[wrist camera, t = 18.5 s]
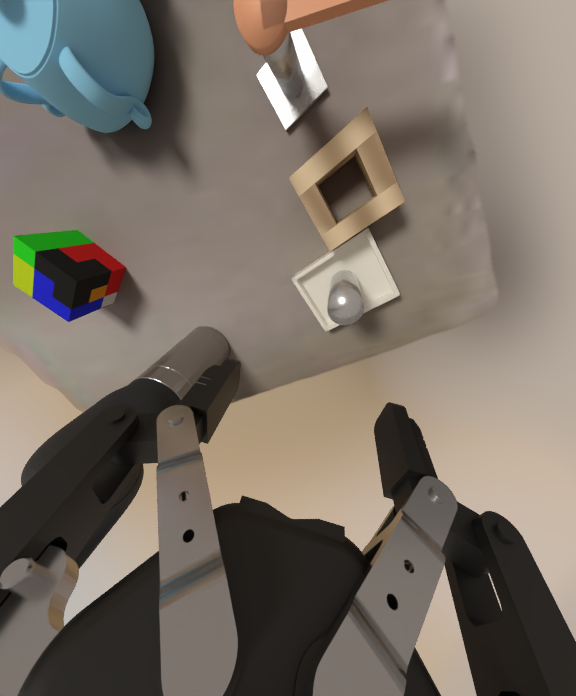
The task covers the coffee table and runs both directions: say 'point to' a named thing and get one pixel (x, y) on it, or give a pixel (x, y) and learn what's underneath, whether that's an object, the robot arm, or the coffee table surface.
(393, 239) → the coffee table surface
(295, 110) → the pivot post
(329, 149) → the block
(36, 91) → the decorative pot
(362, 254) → the tray
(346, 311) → the silver metal cylinder
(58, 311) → the puzzle toy
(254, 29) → the bar
